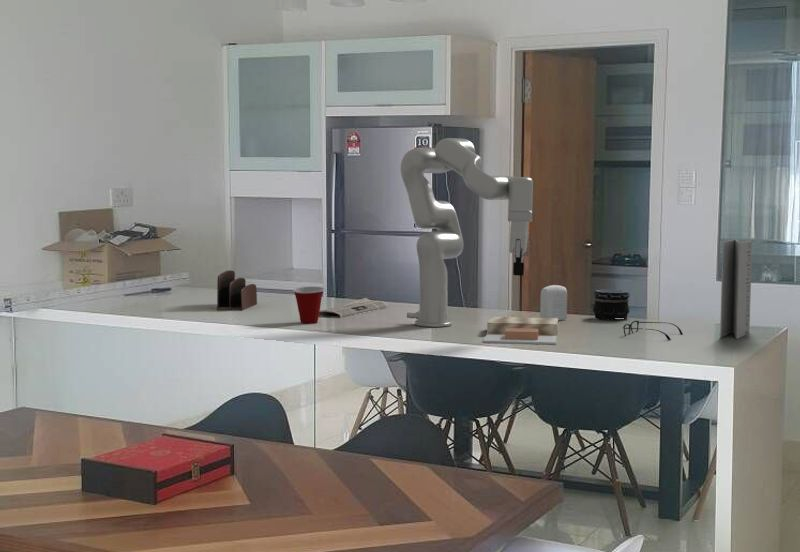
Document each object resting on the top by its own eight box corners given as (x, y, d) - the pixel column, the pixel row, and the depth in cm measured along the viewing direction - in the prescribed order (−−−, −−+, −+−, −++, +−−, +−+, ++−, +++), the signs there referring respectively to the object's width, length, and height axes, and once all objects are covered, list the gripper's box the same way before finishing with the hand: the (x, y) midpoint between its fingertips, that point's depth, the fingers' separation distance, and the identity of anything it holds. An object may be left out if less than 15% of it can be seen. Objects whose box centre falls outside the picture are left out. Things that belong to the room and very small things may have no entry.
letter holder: (216, 310, 403) (216, 273, 402) (233, 304, 423) (232, 268, 421) (242, 311, 401) (241, 273, 400) (257, 304, 421) (257, 268, 420)
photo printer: (560, 318, 379) (560, 283, 378) (568, 320, 376) (569, 284, 375) (538, 320, 374) (538, 285, 373) (546, 322, 370) (546, 286, 369)
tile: (506, 328, 335) (506, 335, 336) (505, 331, 328) (505, 339, 329) (538, 328, 334) (538, 336, 334) (538, 332, 327) (538, 339, 327)
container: (613, 315, 388) (614, 288, 387) (637, 319, 377) (637, 291, 376) (585, 317, 382) (585, 289, 381) (607, 322, 371) (608, 293, 370)
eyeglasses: (636, 331, 351) (637, 319, 351) (684, 335, 343) (685, 322, 343) (620, 338, 337) (620, 325, 337) (670, 342, 329) (670, 329, 329)
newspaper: (340, 319, 381) (340, 309, 380) (311, 317, 387) (311, 307, 387) (390, 308, 411) (390, 299, 411) (362, 306, 417) (362, 297, 417)
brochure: (737, 338, 333) (740, 242, 330) (719, 337, 336) (722, 241, 333) (749, 332, 345) (752, 240, 342) (732, 331, 348) (734, 239, 345)
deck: (487, 335, 341) (487, 322, 340) (490, 328, 354) (490, 316, 354) (557, 336, 337) (557, 324, 337) (557, 330, 351) (558, 318, 351)
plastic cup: (287, 324, 366) (287, 289, 365) (302, 319, 376) (301, 286, 375) (316, 325, 362) (315, 290, 361) (329, 321, 372) (329, 287, 371)
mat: (483, 342, 326) (483, 340, 325) (486, 335, 339) (486, 333, 339) (556, 344, 322) (556, 342, 322) (557, 337, 336) (557, 335, 336)
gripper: (509, 215, 342) (508, 272, 344) (506, 217, 328) (504, 277, 330) (533, 215, 341) (531, 273, 343) (530, 218, 326) (529, 278, 328)
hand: (518, 275), depth 336 cm, fingers closed
